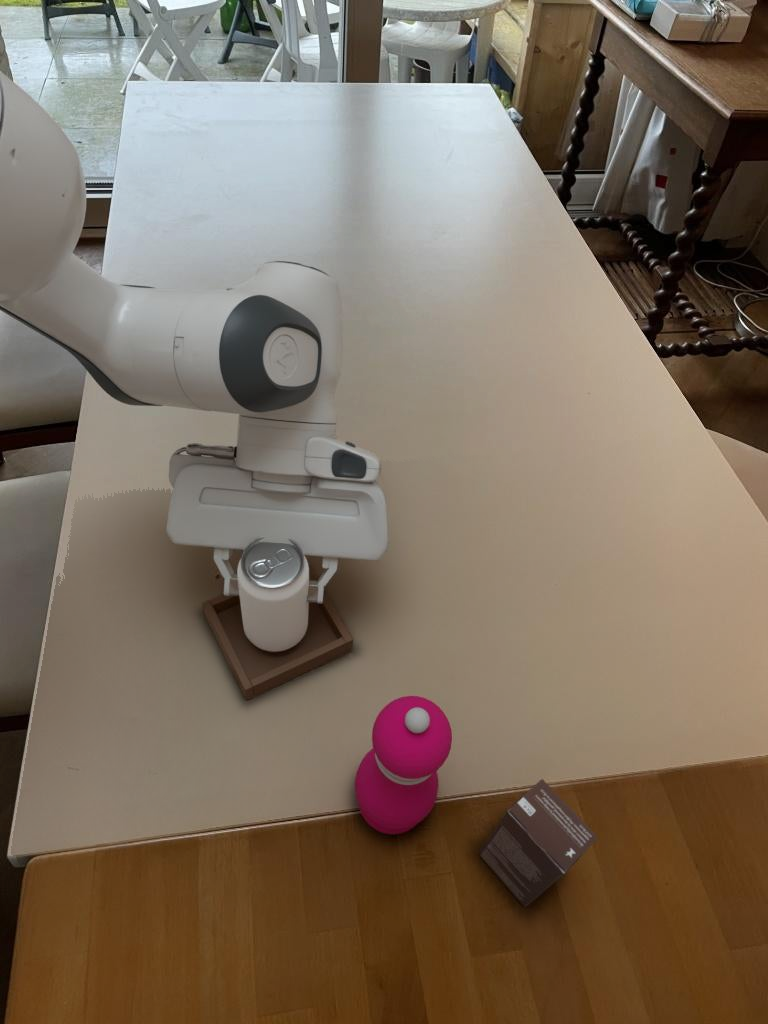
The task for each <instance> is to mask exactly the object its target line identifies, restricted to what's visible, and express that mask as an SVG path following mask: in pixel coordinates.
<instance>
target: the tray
mask: <svg viewBox="0 0 768 1024" xmlns="http://www.w3.org/2000/svg"><path fill="white" fill-rule="evenodd" d="M308 567H309V580H310V581H318V580H319V578H317V576H316V574H315V573H314V571H313V569H312V567H311V565H310V564H309V563H308ZM201 605H202V608H203V609H202V610H203V614H204V618H205V619H206V621H207V623H208V625H209V627H210V629H211V632H212V633H213V635H214V638H215V639H216V641H217V642H216V643H218V645H219V648H220V650H221V652H222V654H223V656H224V658H225V660H226V663H227V664H228V667H229V668H230V671H231V673H232V674H233V677H234V678H235V680H236V681H235V682H236V683H237V685H238V687H239V689H240V691H241V693H242V695H243V697H244V699H245V701H249V700H251V699H253V698H255V697H258V696H260V695H261V694H264V693H266V692H268V691H271V690H272V689H275V688H277V687H278V686H281V685H283V684H284V683H287V682H289V681H292V680H293V679H295V678H298V677H300V676H302V675H304V674H306V673H308V672H310V671H313V670H314V669H317V668H319V667H320V666H323V665H325V664H327V663H329V662H332V661H333V660H335V659H337V658H339V657H342V656H344V655H346V654H348V653H350V652H352V651H353V643H354V638H353V637H352V635H351V632H349V630H348V629H347V627H346V624H345V623H344V622H343V620H342V618H341V616H340V615H339V613H338V612H337V610H336V608H335V606H334V604H333V603H332V601H331V600H330V598H329V596H328V595H327V593H326V592H325V590H324V595H323V603H322V604H321V603H310V602H309V608H308V626H307V630H306V633H305V635H304V637H303V638H302V639H301V641H300V642H299V643H297V644H296V645H295V646H293V647H291V648H289V649H287V650H284V651H278V652H271V651H266V650H262V649H260V648H258V647H257V646H255V645H254V644H253V643H252V642H251V641H250V640H249V639H248V638H247V636H246V634H245V632H244V627H243V620H242V612H241V604H240V597H239V596H225V595H224V593H221V594H220V595H217V596H215V597H213V598H210V599H207V600H205V601H203V602H202V603H201Z"/></svg>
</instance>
